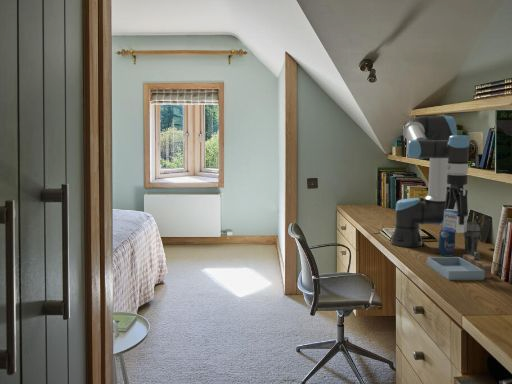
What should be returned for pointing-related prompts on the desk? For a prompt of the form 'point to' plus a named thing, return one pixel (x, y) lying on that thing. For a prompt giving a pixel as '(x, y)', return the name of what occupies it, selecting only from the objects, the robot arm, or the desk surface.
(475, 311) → the desk surface
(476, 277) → the tray
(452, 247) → the soda can
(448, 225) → the medicine box
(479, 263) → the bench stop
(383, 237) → the desk surface
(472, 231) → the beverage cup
